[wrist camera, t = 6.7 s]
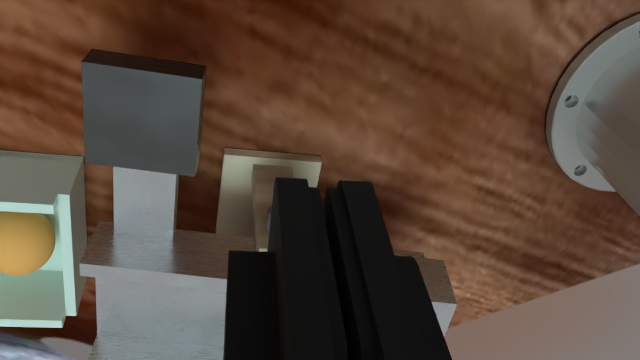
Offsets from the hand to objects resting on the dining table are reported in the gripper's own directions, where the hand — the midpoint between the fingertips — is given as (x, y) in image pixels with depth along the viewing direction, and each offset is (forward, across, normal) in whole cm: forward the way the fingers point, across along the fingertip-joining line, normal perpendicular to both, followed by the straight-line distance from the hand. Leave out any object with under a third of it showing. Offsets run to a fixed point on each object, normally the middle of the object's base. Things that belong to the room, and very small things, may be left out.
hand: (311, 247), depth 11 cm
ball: (+21, +14, +17) cm, 31 cm away
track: (+20, -2, +13) cm, 24 cm away
